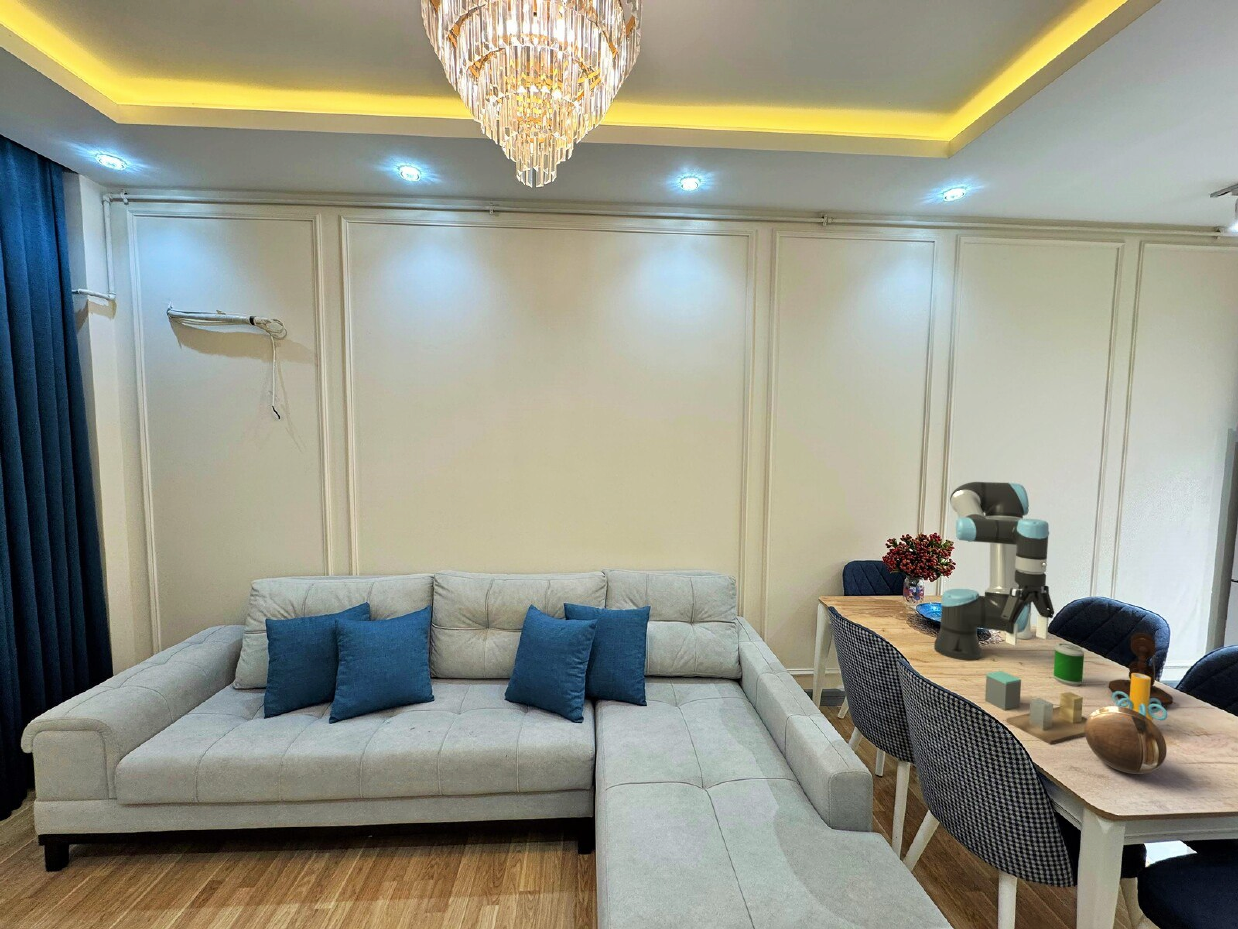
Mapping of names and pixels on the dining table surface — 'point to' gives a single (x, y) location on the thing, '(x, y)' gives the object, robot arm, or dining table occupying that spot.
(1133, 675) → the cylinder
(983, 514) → the robot arm
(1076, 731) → the walnut board
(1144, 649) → the turned wooden candlestick
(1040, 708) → the steel post
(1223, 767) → the dining table surface
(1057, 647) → the soda can
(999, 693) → the grey teal-topped block
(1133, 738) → the bronze metallic ball
